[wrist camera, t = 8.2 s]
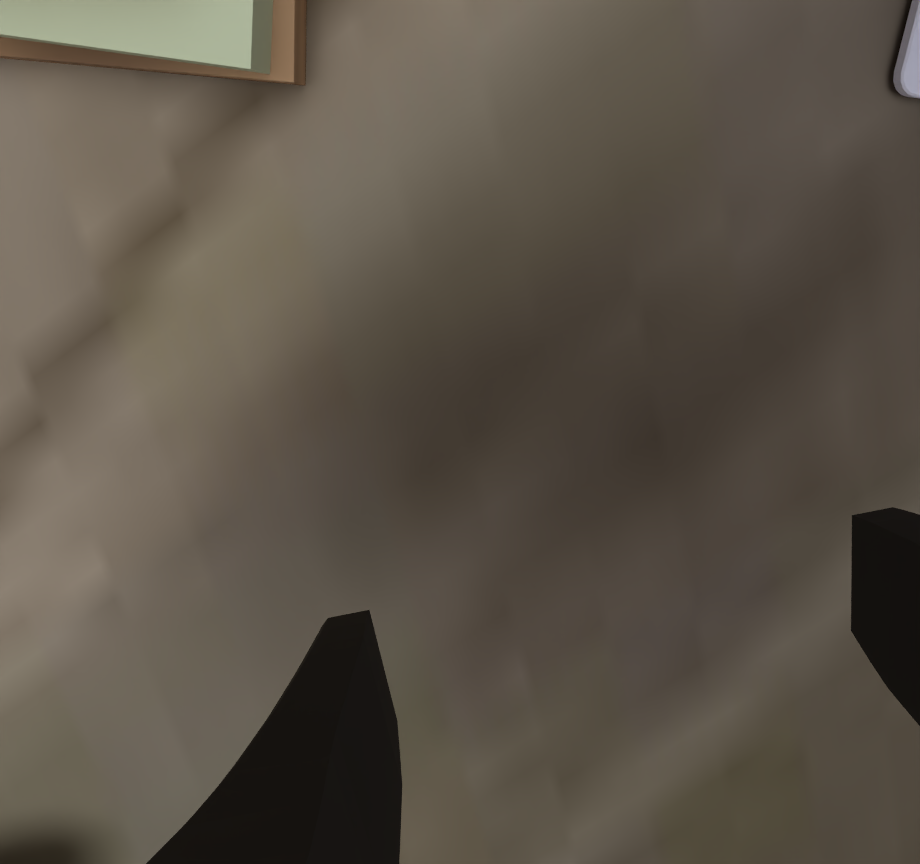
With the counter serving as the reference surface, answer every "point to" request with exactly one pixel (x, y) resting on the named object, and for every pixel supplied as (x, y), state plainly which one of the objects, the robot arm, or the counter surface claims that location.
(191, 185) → the counter surface
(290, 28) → the walnut slab
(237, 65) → the sage block
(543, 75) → the counter surface
